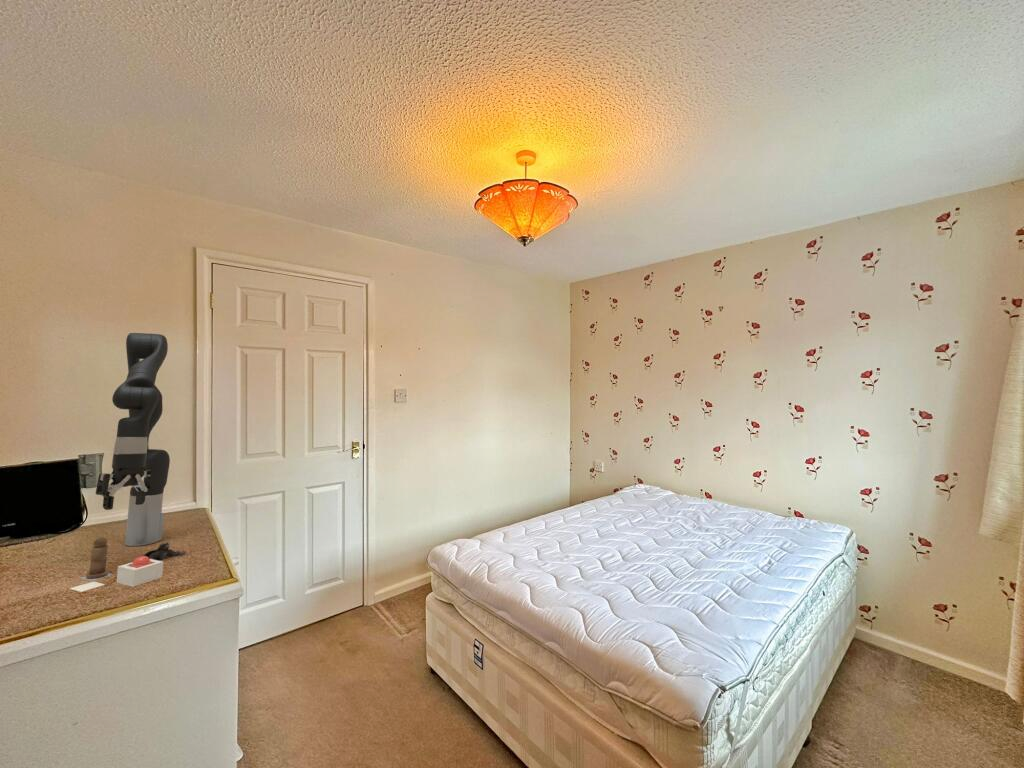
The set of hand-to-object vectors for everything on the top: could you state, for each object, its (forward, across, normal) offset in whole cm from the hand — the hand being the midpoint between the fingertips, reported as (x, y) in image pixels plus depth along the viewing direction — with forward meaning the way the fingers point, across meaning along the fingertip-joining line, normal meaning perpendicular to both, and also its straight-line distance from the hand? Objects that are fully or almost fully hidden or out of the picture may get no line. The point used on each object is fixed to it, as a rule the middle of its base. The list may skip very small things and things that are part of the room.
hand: (124, 507), depth 125 cm
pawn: (+18, +5, 0) cm, 19 cm away
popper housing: (+20, +4, +13) cm, 24 cm away
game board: (+20, +6, +6) cm, 22 cm away
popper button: (+18, +4, +13) cm, 22 cm away
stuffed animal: (+19, -12, +3) cm, 23 cm away
